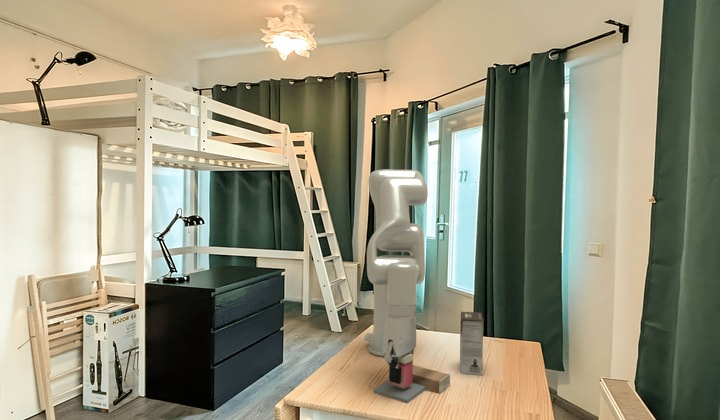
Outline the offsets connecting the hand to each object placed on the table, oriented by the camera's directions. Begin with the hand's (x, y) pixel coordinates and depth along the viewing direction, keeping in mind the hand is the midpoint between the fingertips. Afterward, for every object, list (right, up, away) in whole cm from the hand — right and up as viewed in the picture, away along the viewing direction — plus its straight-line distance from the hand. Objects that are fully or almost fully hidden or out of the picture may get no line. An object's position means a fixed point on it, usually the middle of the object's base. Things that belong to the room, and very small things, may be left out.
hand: (400, 378), depth 114 cm
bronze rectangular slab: (+7, -3, +5) cm, 9 cm away
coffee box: (+22, -3, +16) cm, 28 cm away
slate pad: (0, -3, 0) cm, 3 cm away
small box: (0, -2, 0) cm, 2 cm away
